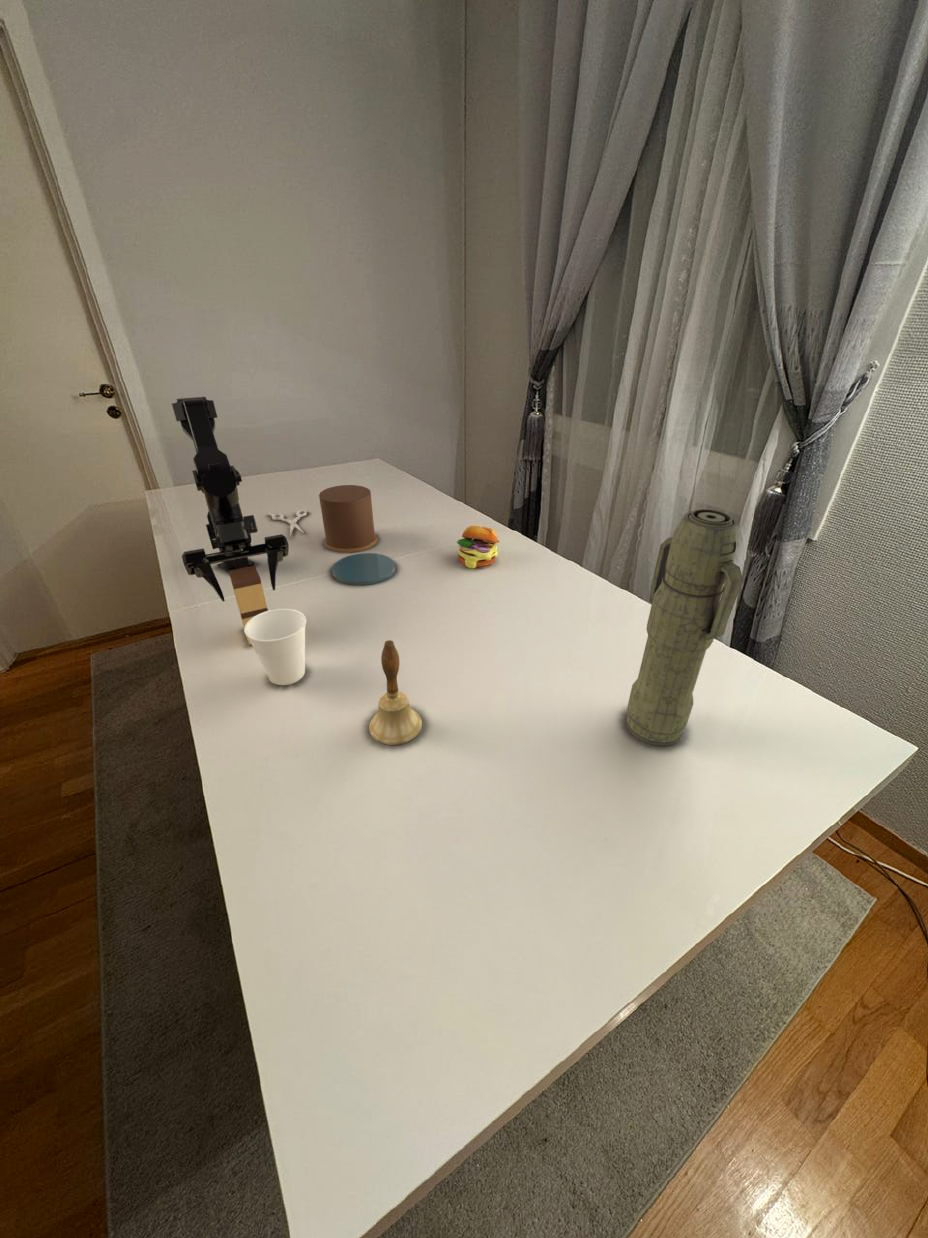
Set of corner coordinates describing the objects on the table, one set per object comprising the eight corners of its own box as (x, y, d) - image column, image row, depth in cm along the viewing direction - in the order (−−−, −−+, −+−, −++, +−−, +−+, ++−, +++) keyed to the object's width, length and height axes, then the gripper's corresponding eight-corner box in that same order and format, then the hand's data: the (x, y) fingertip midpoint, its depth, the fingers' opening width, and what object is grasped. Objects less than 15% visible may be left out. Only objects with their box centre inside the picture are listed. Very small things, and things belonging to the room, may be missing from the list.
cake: (313, 543, 139) (305, 495, 132) (351, 526, 148) (346, 480, 141) (350, 557, 132) (343, 506, 125) (387, 538, 142) (383, 491, 134)
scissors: (304, 507, 159) (317, 531, 143) (305, 510, 159) (317, 533, 144) (268, 512, 155) (277, 537, 140) (269, 515, 156) (277, 540, 140)
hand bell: (374, 707, 85) (364, 626, 77) (424, 708, 85) (420, 627, 76) (364, 744, 78) (352, 660, 70) (419, 746, 78) (414, 662, 69)
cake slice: (244, 630, 104) (228, 570, 97) (269, 623, 106) (255, 565, 99) (249, 645, 100) (232, 584, 92) (274, 638, 102) (260, 578, 94)
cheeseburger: (449, 565, 128) (452, 525, 124) (465, 558, 137) (468, 520, 134) (488, 572, 125) (492, 531, 121) (501, 564, 134) (505, 525, 131)
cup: (263, 700, 86) (248, 647, 80) (253, 668, 94) (239, 616, 88) (322, 683, 90) (312, 631, 84) (308, 653, 98) (299, 603, 92)
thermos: (667, 762, 76) (736, 541, 57) (606, 715, 84) (648, 508, 65) (703, 737, 80) (779, 523, 61) (642, 695, 88) (692, 495, 69)
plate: (319, 573, 125) (318, 569, 124) (364, 551, 135) (363, 547, 134) (364, 591, 117) (363, 587, 117) (407, 567, 128) (407, 563, 127)
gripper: (167, 510, 90) (189, 593, 88) (277, 494, 98) (300, 570, 95) (178, 536, 100) (198, 611, 98) (277, 519, 108) (298, 589, 105)
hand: (249, 595), depth 99 cm, fingers open, 9 cm apart
